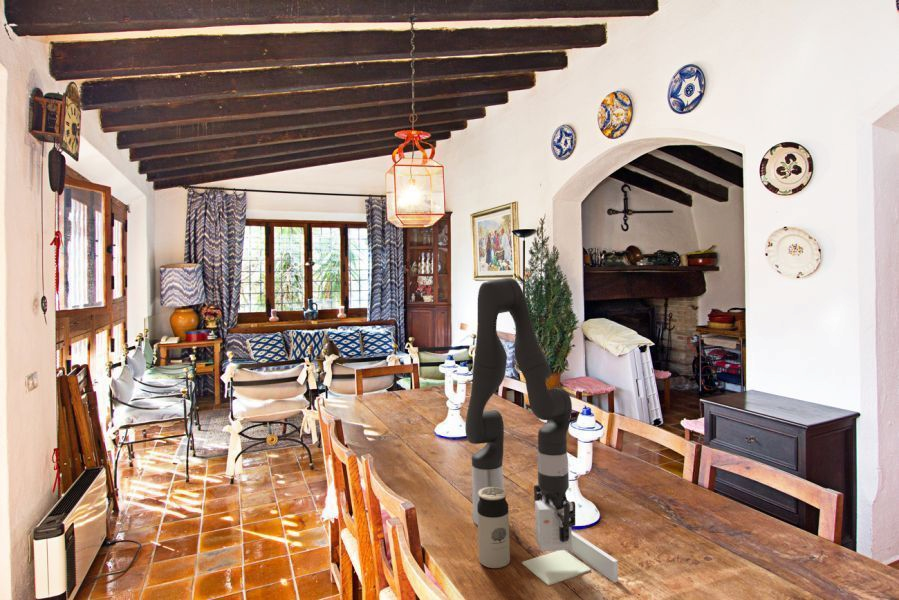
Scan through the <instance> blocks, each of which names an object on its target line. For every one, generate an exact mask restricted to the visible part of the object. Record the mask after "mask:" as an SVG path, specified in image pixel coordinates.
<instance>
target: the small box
mask: <svg viewBox="0 0 899 600" xmlns="http://www.w3.org/2000/svg"><path fill="white" fill-rule="evenodd" d="M534 511H535V513H534V515H535V519H534V520H535V541H536V543H537V545H538V547H539V548H538V549H539V550H540V552H552V551H553V552H555V551H558V550H565V551H569V550H572V532H571V531H572V527H569V540H568V541H565V542H561V541H560V533H559V526H560V525H559V522H558V519H557V518H556V517H555V515H554V509H552V506H551V505H549V504H548V503H543V502H542V501H541V500H539V501H535V500H534ZM558 512H559V513H563V512H564V509H563V508H562V509H560V510H558ZM562 520H563V521H564V516H562ZM569 520H570V521H571V518H569Z"/></svg>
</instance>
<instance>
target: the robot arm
mask: <svg viewBox="0 0 899 600" xmlns="http://www.w3.org/2000/svg"><path fill="white" fill-rule="evenodd" d="M477 293H478V294H477V329H476V340H475V341H476V342H475V343H476V344H475V350H474V351H475V353H474V358H473V367H472V369H473V370H472V381H471V392H470V397H469V398H470V399H469V403H468V408H467V412H466V417H465V436H466V439H467V441H468V442H469V443H470V444H473V445H480V444H485V445H484V447H481V449H479V450H477V451H476V452H474V453H473V454H472V456H471V474H472V477H471V478H472V486H471V495H472V496H471V499H472V500H471V501H472V503H471V504H472V518H473V523H474V524H475V525H476V526H478V511H477V504H478V502H479V500H480V498H479V495H478V491H479V490H481V489H483V488H486V487H499V488H502V489H504V469H503V468H504V467H503V464H504V463H503V460H504V444H505V443H504V440H505V439H504V438H505V428H504V427H505V425H504V420H503V416H502V414H501V413H500V412H499V411H498V410H492V409H491V410H485V408H486V405H487V404H488V402H489V400H490V399H491V397H493V396H494V394H495V393H496V391H497V390H498V389H499V388H500V387H501V385H502V383H503V381H504V379H505V376H506V370H507V363H508V362H507V361H508V355H507V352H506V349H505V346H504V344H503V342H502V341H501V339H500V336H499V335H498V331H497V326H498V325H497V322H498V315H499V314H504V313H509V314H510V316H511V318H512V320H513V322H514V327H515V334H514V335H515V336H514V338H515V339H514V356H515V360H516V362H517V364H518V367H519V369H520V371H521V373H522V375H523V378H524V380H525V386H526V387H525V388H526V392H527V397H528V403H529V404H528V405H529V406H530V410H531V412H532V413H533V414H534V416H535V417H537V418H538V419H539V420H541V421H546V423H545V424H544V425H543V426H541V427H540V428H539V430H538V432H537V433H538V434H537V445H538V447H537V448H538V449H537V450H538V451H537V481H538V482H537V483H538V484H536V485H534V486H533V493H534V494H533V495H534V497H533V498H534V502H535V501H542V502H543V503H548V504H549V505H551V506H552V509H554V515H555V517H556V518H557V519H558V522H559V525H560V526H559V533H560V541H561V542H565V541H568V540H569V527H571V528H572V527H575V526H576V503H575V502H576V501H569V500H568V498H567V494H566V493H567V491H568V489H569V487H570V481H569V480H570V478H569V477H570V475H569V457H568V449H567V448H568V444H567V441H568V440H567V436H568V435H567V433H568V429H569V427H570V421H571V417H572V409H573V403H572V399H571V396H570V394H569V392H567V391H566V389H564V388H562V387H553V388H550V389H548V386H547V381H548V380H549V379H550V378H551V377H552V369H551V367H550V365H549V363H548V360H547V358H546V356H545V354H544V351H543V349H542V348H541V346H540V343H539V341H538V338H537V335H536V332H535V328H534V325H533V322H532V319H531V314H530V311H529V307H528V304H527V302H526V301H527V300H526V297H525V294H524V292H523V289H522V287H521V285H520V283H519V282H518V281H517V280H516V279H515V278H512V277H506V278H505V277H504V278H496V279H489V280H486V281H483V282H482V283H481V285H480V286H479V288H478V292H477ZM562 508H563V509H564V512H563V513H559V512H558V510H560V509H562ZM562 516H564V521H563V520H562ZM569 518H571V521H570V520H569Z"/></svg>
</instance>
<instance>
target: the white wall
mask: <svg viewBox="0 0 899 600" xmlns="http://www.w3.org/2000/svg"><path fill="white" fill-rule="evenodd" d="M571 532H572V550H568V551H569V552H570V553H572V555H574V556H576V557H577V558H578V559H580V560H582V561H583V562H584V563H586V564H587V565H588V566H590V567H591V568H593V569H595V570H596V571H597V572H599V574H602V575H603V576H604V577H605V578H607V579H609V580H610V582H613V583H617V582H619V566H618V565H619V561H618V559H617V558H614V557H613V556H611V555H610V554H608V553H607V552H605V551H603V550H602V549H600V548H599V547H598V546H596V545H594V544H593V543H591V542H590V541H588V540H587V539H586V538H583V536H581V535H579V534H578V533H576V532H575V531H573V530H571Z"/></svg>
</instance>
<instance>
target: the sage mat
mask: <svg viewBox="0 0 899 600" xmlns="http://www.w3.org/2000/svg"><path fill="white" fill-rule="evenodd" d="M521 564H522V565H523V566H524V567H526V568H527V570H529V571H530V572H531V573H532V574H534V575H535V576H536V577H537V578H538V579H540V580H541V581H542V582H543V583H544V584H546V585H547V586H551V585H554V584H556V583H560V582H562V581H565V580H568V579H572V578H575V577H576V576H577V577H578V576H580V575H584V574H586V573H589V572H591V571H592V569H591V568H590V567H589V566H587V565H585V564H584V563H583V562H582V561H580V560H579V559H577V558H576V557H575V556H573V554H570V553H569V552H567V550H557V551H553V552H552V551H551V552H550V553H546V554H542V555H539V556H537V557H534V558H530V559H528V560H527V559H526V560H524V561H522V562H521Z"/></svg>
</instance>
